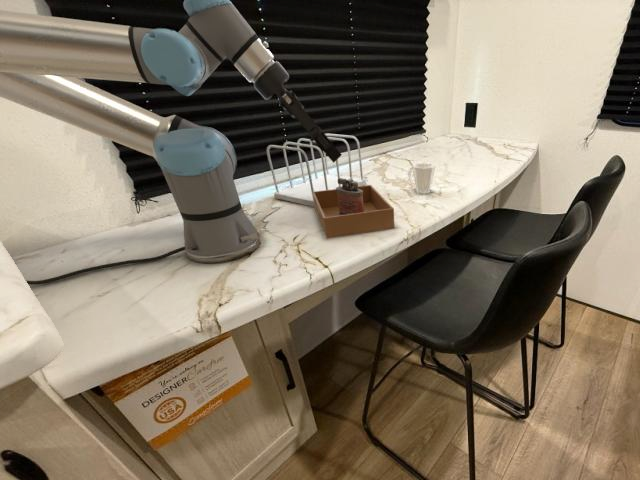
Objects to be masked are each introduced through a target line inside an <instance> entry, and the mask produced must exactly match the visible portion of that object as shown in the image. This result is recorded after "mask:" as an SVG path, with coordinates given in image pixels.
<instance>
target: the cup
mask: <svg viewBox="0 0 640 480" xmlns="http://www.w3.org/2000/svg"><path fill="white" fill-rule="evenodd" d="M435 170H436V165H435V164H433V163H428V162H420V163H415V164H413V165H412V166H411V167H410V169H409V172H408V180H409V182H410V184H411V186H412V187H413V188H414V189H415V190H416V193H417V194H420V195H426V194H429V193H431V190H430V189H431V188H432V185H433V180H434V176H435ZM412 172H413V178H412ZM413 179H414V181H413Z"/></svg>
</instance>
